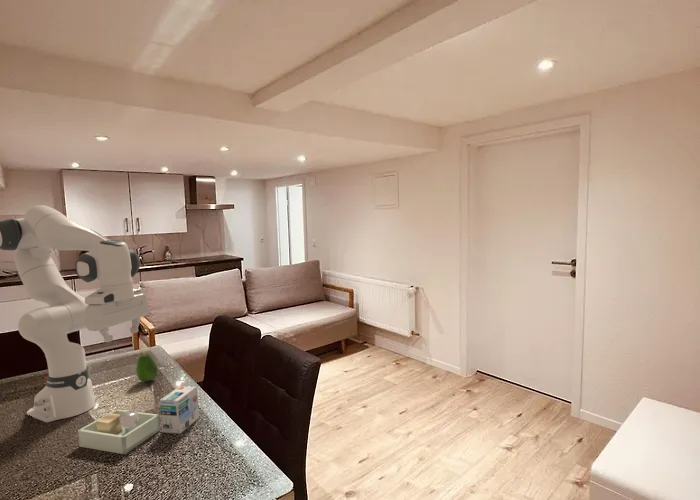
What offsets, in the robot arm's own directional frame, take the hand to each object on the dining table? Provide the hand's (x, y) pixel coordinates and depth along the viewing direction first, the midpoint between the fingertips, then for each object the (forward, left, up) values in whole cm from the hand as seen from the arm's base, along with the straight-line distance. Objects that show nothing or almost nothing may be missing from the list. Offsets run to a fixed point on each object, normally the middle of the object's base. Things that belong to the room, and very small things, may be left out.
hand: (122, 337), depth 124 cm
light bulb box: (+12, +8, -31) cm, 35 cm away
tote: (-1, -3, -31) cm, 31 cm away
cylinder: (+3, -3, -30) cm, 30 cm away
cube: (-5, -3, -30) cm, 31 cm away
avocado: (-28, +35, -31) cm, 55 cm away
